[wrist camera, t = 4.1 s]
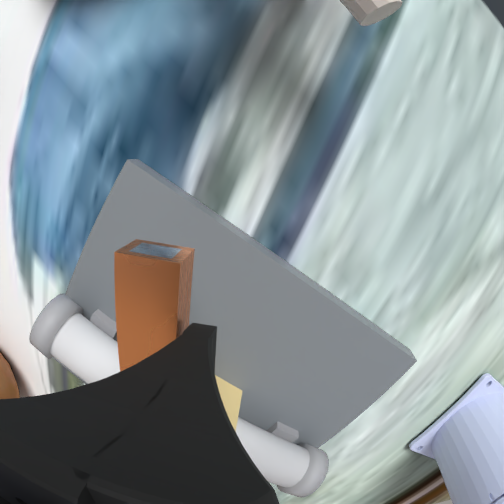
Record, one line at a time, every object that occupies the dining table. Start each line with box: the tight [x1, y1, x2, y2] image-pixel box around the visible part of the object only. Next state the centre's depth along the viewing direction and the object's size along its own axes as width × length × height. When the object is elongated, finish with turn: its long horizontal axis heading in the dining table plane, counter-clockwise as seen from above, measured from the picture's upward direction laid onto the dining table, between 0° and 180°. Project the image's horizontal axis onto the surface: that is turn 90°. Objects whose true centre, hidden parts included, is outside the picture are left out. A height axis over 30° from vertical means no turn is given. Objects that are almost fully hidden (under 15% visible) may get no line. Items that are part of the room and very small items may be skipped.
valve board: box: [30, 159, 417, 497], centre depth 14 cm, size 18×14×6 cm
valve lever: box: [114, 239, 195, 372], centre depth 10 cm, size 11×2×2 cm, turn 172°
